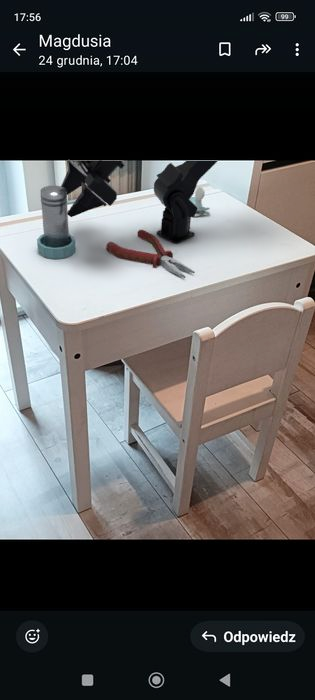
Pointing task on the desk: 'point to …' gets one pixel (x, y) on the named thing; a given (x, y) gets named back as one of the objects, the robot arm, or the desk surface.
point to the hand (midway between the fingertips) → (63, 206)
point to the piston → (55, 216)
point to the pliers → (150, 255)
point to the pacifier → (198, 201)
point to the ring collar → (56, 249)
